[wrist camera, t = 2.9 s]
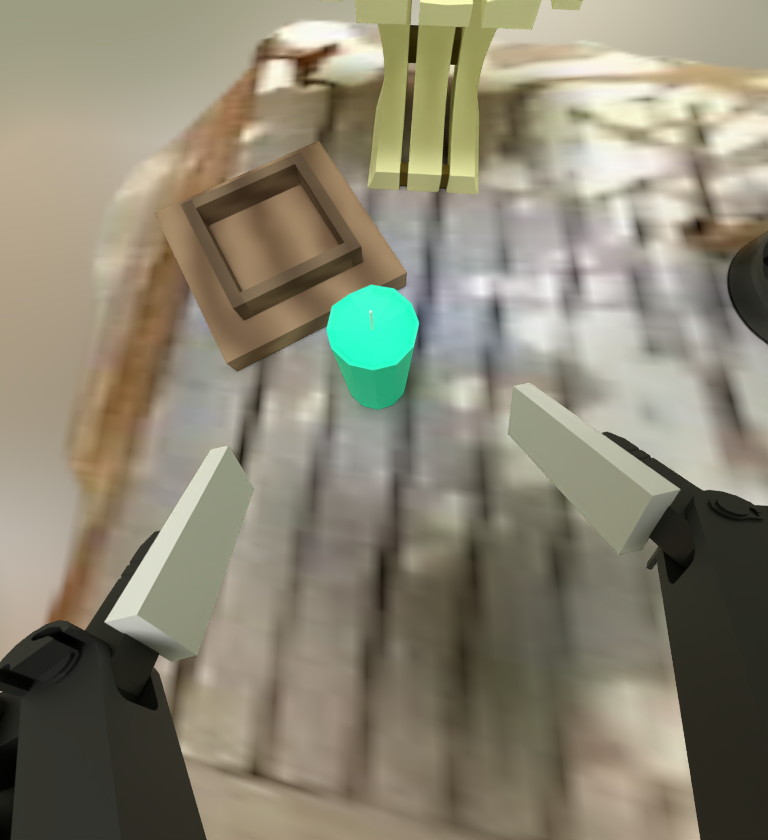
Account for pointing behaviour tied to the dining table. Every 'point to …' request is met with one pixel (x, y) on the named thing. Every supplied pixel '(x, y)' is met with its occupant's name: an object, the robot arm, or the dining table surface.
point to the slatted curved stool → (436, 86)
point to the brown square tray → (276, 252)
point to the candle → (373, 343)
